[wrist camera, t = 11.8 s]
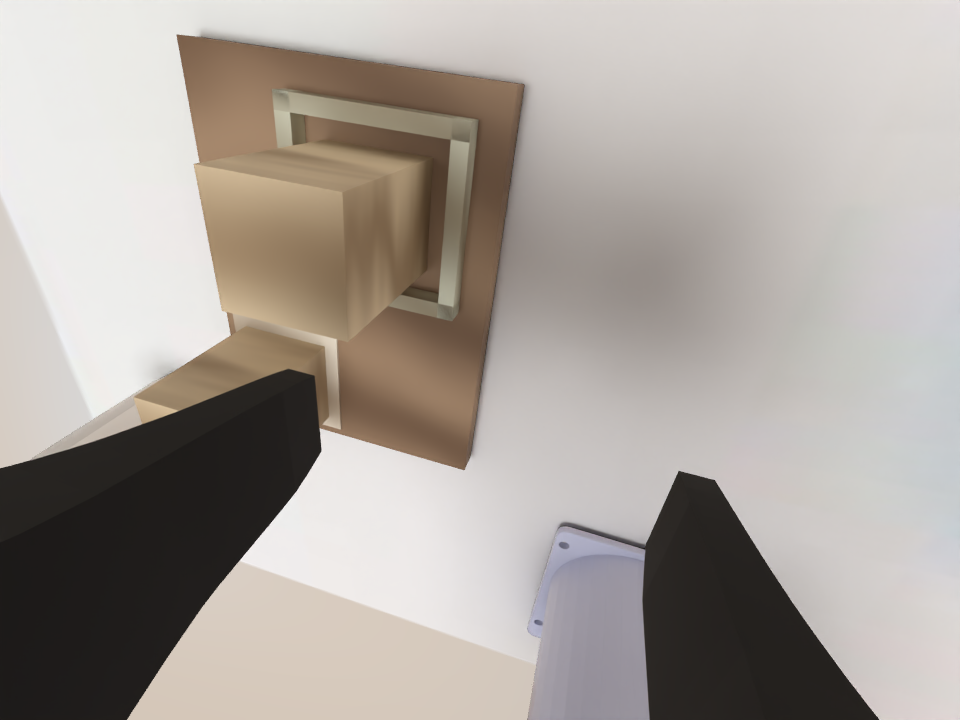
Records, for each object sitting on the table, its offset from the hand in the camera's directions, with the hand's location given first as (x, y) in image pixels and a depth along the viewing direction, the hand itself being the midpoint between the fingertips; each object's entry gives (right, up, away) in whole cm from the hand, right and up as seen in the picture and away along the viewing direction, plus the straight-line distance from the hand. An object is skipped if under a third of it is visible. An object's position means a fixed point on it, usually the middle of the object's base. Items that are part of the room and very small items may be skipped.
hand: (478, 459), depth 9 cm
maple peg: (-4, +8, +8) cm, 12 cm away
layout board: (-5, +5, +11) cm, 13 cm away
